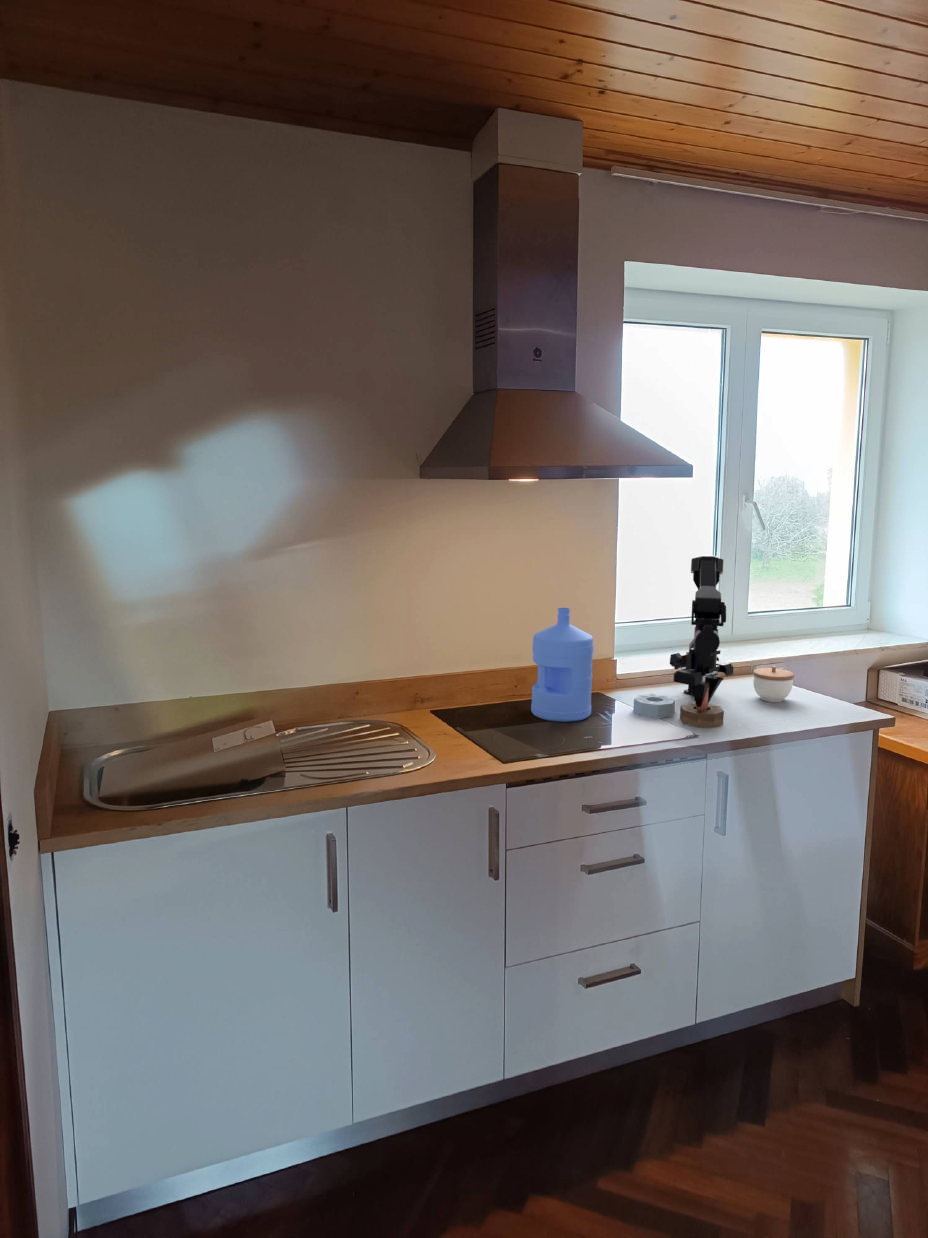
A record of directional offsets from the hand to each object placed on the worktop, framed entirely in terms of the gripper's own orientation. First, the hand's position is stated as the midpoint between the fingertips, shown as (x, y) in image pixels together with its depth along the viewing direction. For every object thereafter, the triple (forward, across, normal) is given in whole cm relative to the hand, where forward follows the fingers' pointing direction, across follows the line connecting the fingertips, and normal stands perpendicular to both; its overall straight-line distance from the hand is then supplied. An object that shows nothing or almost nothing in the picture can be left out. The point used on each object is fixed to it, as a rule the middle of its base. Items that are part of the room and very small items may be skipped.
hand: (702, 705), depth 217 cm
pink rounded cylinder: (+2, 0, 0) cm, 2 cm away
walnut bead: (+4, 0, 0) cm, 4 cm away
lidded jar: (+4, -34, +1) cm, 34 cm away
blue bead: (+4, +2, -13) cm, 14 cm away
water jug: (+4, +22, -28) cm, 36 cm away
